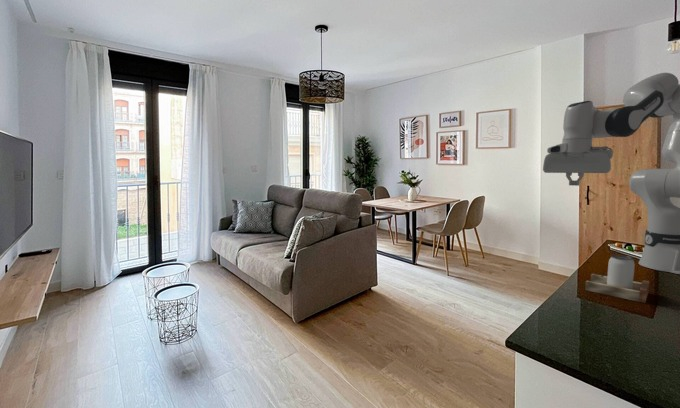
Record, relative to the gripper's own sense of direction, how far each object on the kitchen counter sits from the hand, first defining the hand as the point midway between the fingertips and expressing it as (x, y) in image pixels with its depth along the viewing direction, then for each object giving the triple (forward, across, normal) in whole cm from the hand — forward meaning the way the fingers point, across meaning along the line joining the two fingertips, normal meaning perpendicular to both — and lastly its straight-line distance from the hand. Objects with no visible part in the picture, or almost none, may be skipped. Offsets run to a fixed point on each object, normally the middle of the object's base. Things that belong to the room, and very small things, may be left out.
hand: (574, 185), depth 122 cm
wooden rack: (+34, -15, +9) cm, 38 cm away
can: (+34, -16, +9) cm, 39 cm away
